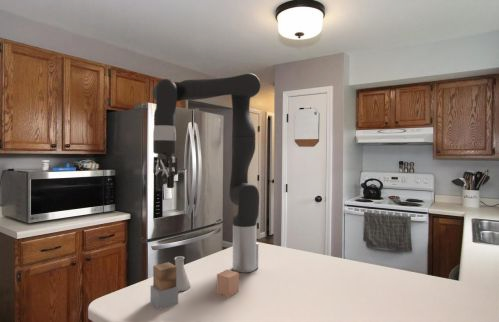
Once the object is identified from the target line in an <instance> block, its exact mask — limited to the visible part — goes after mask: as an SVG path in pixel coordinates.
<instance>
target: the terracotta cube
mask: <svg viewBox="0 0 499 322" xmlns="http://www.w3.org/2000/svg"><path fill="white" fill-rule="evenodd" d="M238 292H240V272H237V271H235V270H230V269H225V270H223V271H222V272H219V273H217V274H216V293H217V294H219V295H223V296H226V297H229V298H230V297H231V296H233V295H235V294H237V293H238Z"/></svg>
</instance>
